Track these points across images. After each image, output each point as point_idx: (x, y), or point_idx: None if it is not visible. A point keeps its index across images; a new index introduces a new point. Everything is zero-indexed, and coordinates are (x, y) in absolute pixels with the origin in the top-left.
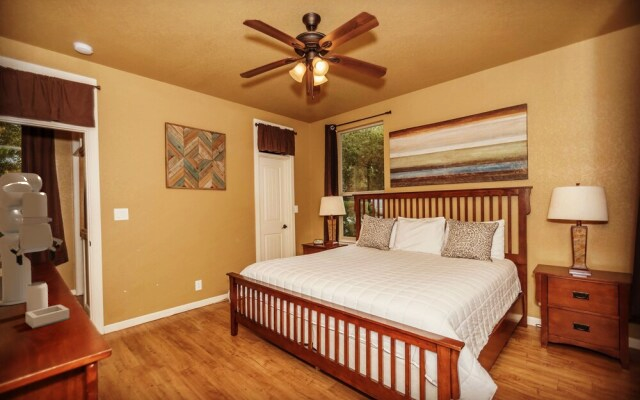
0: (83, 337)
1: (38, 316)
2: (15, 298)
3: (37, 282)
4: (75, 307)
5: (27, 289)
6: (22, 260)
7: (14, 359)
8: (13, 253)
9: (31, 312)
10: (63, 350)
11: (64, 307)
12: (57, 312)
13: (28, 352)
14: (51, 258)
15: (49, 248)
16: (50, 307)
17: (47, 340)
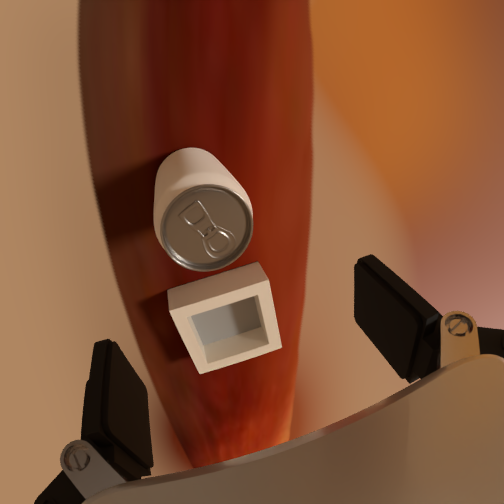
0: (275, 421)
1: (211, 368)
2: None
3: (208, 187)
4: (304, 214)
5: (162, 245)
6: (148, 421)
7: (191, 446)
8: (67, 481)
9: (187, 322)
10: (246, 444)
11: (274, 325)
12: (253, 356)
13: (204, 437)
14: (366, 333)
15: (441, 367)
16: (239, 299)
17: (227, 415)
